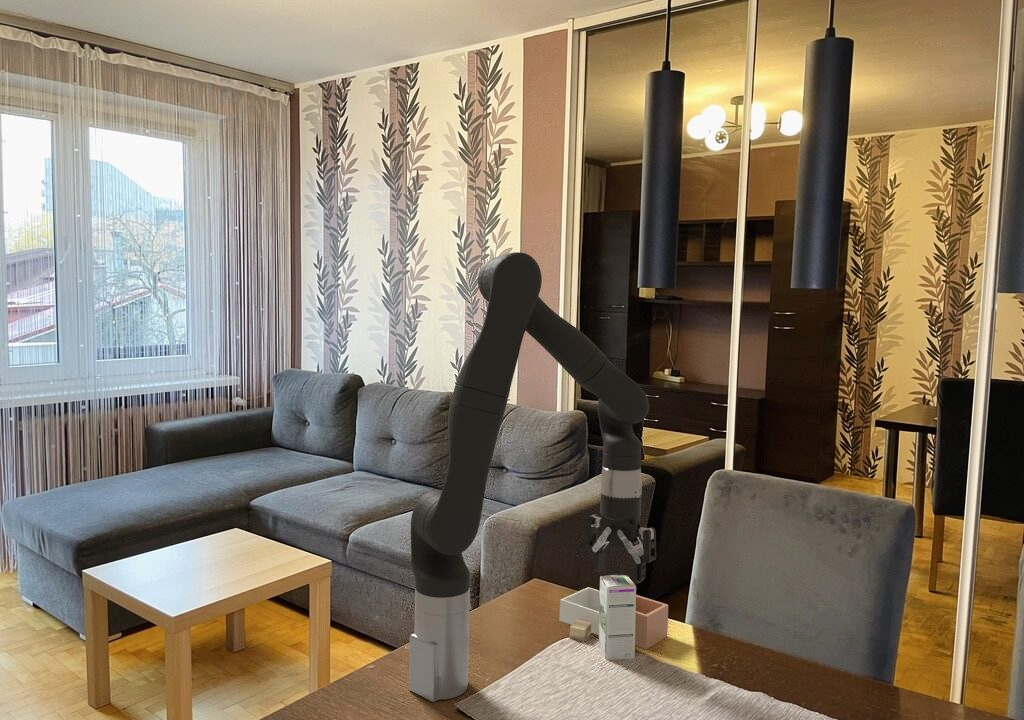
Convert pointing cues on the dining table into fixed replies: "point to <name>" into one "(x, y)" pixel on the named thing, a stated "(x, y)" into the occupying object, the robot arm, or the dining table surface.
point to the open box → (650, 622)
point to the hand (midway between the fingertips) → (618, 576)
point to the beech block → (580, 630)
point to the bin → (581, 608)
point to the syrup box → (617, 617)
